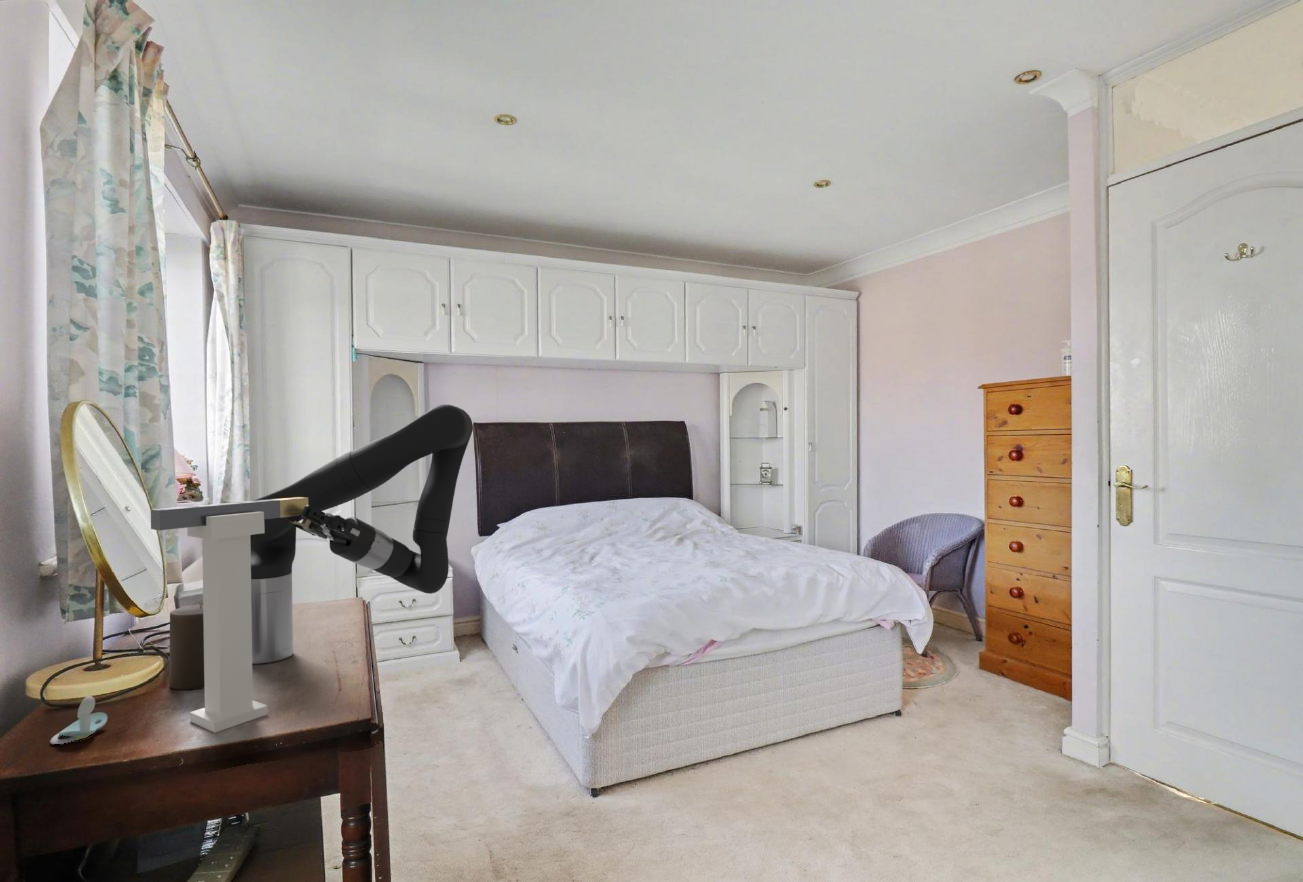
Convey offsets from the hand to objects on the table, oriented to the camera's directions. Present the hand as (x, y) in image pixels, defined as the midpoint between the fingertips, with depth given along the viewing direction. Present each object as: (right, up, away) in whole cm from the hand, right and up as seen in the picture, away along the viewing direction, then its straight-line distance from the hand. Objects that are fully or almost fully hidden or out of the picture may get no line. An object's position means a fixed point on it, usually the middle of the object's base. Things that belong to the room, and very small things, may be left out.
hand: (290, 508), depth 119 cm
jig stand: (-5, -33, -9) cm, 35 cm away
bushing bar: (-5, -1, -8) cm, 9 cm away
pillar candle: (-22, -34, +9) cm, 41 cm away
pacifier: (-25, -34, -15) cm, 45 cm away
